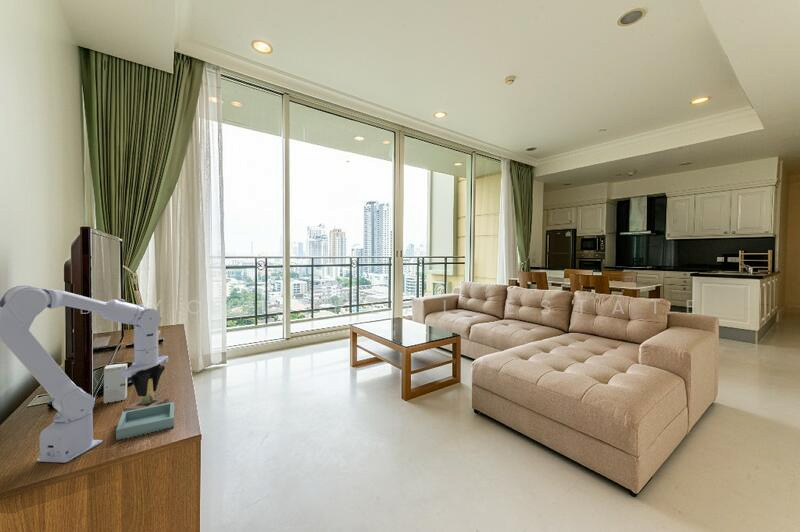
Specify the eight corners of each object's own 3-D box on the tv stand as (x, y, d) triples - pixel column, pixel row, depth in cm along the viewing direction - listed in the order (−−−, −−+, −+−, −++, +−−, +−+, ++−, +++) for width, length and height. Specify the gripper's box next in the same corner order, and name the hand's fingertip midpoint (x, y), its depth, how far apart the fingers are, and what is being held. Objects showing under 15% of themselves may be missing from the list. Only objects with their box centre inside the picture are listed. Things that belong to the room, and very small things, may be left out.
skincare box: (103, 404, 115) (102, 368, 115) (105, 399, 119) (105, 365, 118) (126, 399, 118) (125, 365, 118) (128, 395, 122) (127, 362, 122)
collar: (148, 413, 108) (148, 408, 108) (123, 412, 108) (123, 408, 108) (168, 402, 116) (168, 398, 116) (145, 401, 117) (145, 397, 117)
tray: (173, 427, 99) (173, 417, 99) (116, 440, 91) (116, 430, 91) (174, 410, 109) (174, 401, 109) (122, 421, 102) (122, 411, 102)
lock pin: (147, 403, 99) (146, 380, 98) (138, 403, 99) (137, 379, 99) (156, 399, 102) (155, 376, 101) (147, 399, 102) (146, 376, 102)
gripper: (153, 341, 108) (154, 384, 108) (111, 354, 93) (112, 403, 93) (174, 342, 107) (174, 384, 107) (135, 355, 93) (136, 404, 93)
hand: (147, 393), depth 100 cm, fingers closed on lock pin, 3 cm apart
